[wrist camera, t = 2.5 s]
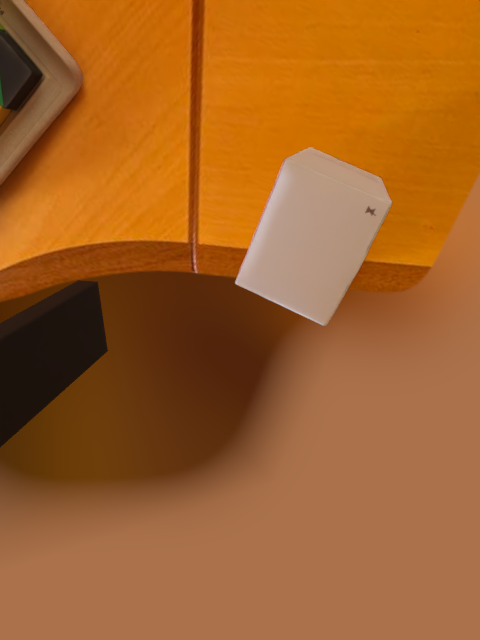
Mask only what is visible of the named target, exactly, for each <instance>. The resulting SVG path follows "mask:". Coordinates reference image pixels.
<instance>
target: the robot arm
mask: <svg viewBox="0 0 480 640" xmlns="http://www.w3.org/2000/svg"><path fill="white" fill-rule="evenodd" d="M107 351H108V350H107V344H106V336H105V331H104V323H103V316H102V309H101V302H100V296H99V288H98V282H93V281H77V282H75V283H73V284H71V285H69V286H67V287H66V288H64V289H62V290H60V291H58V292H57V293H55V294H53V295H51V296H49V297H47V298H46V299H44V300H42V301H40V302H38V303H36V304H35V305H33V306H31V307H29V308H27V309H25V310H24V311H22V312H20V313H18V314H16V315H15V316H13V317H11V318H9V319H7V320H5V321H4V322H2V323H0V447H1V446H2V445H3V444H4V443H6V442H7V441H8V440H9V439H10V438H11V437H12V436H13V435H14V434H16V433H17V432H18V431H19V430H20V429H21V428H22V427H23V426H24V425H26V424H27V423H28V422H29V421H30V420H31V419H32V418H33V417H34V416H36V415H37V414H38V413H39V412H40V411H41V410H42V409H43V408H45V407H46V406H47V405H48V404H49V403H50V402H51V401H52V400H54V399H55V398H56V397H57V396H58V395H59V394H60V393H61V392H62V391H64V390H65V388H67V387H68V386H69V385H70V384H71V383H72V382H74V381H75V380H76V379H77V378H78V377H79V376H80V375H81V374H83V372H85V371H86V370H87V369H88V368H89V367H90V366H91V365H92V364H94V363H95V362H96V361H97V360H98V359H99V358H100V357H101V356H102V355H104V354H105V353H106V352H107Z"/></svg>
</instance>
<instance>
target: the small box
mask: <svg viewBox="0 0 480 640" xmlns="http://www.w3.org/2000/svg"><path fill="white" fill-rule="evenodd" d="M391 205H392V201H391V199H390V197H389V195H388V192H387V190H386V188H385V185H384V183H383V181H382V178H380V177H378V176H376V175H373V174H371V173H369V172H366V171H364V170H362V169H360V168H357V167H355V166H353V165H350V164H348V163H346V162H343V161H341V160H339V159H337V158H334V157H332V156H330V155H328V154H325V153H323V152H321V151H319V150H316V149H314V148H312V147H309V148H307V149H304V150H302V151H300V152H298V153H296V154H294V155H292V156H290V157H288V158H285V159H284V161H283V164H282V166H281V168H280V171H279V173H278V176H277V178H276V181H275V183H274V186H273V188H272V191H271V193H270V196H269V198H268V200H267V203H266V206H265V208H264V211H263V213H262V216H261V218H260V221H259V223H258V226H257V228H256V231H255V233H254V236H253V238H252V241H251V243H250V246H249V248H248V251H247V253H246V256H245V258H244V261H243V263H242V266H241V268H240V271H239V273H238V276H237V279H236V281H235V284H237V285H239V286H241V287H243V288H245V289H248V290H249V291H252V292H254V293H256V294H258V295H260V296H262V297H264V298H266V299H268V300H270V301H273V302H275V303H277V304H279V305H281V306H283V307H285V308H287V309H289V310H291V311H294V312H296V313H298V314H300V315H302V316H304V317H306V318H308V319H310V320H313V321H314V322H317V323H319V324H321V325H323V326H326V325H327V324H328V323H329V321H330V319H331V318H332V316H333V314H334V312H335V311H336V309H337V307H338V305H339V303H340V302H341V300H342V298H343V296H344V294H345V293H346V291H347V289H348V287H349V286H350V284H351V282H352V280H353V279H354V277H355V275H356V274H357V272H358V270H359V268H360V266H361V265H362V263H363V261H364V259H365V257H366V255H367V253H368V250H369V248H370V246H371V244H372V242H373V240H374V238H375V236H376V234H377V233H378V231H379V229H380V227H381V225H382V223H383V221H384V219H385V217H386V215H387V213H388V211H389V209H390V208H391Z"/></svg>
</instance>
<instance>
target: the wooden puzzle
mask: <svg viewBox="0 0 480 640" xmlns="http://www.w3.org/2000/svg"><path fill="white" fill-rule="evenodd" d="M82 82H83V76H82V72H81V69H80V67H79V66H78V64H77V62H76V61H75V60H74V59H73V58H72V56H71V55H70V54H69V53H68V51H67V50H66V49H65V48H64V47H63V46H62V44H61V43H60V42H59V41H58V40H57V38H56V37H55V36H54V35H53V34H52V32H51V31H50V30H49V29H48V28H47V27H46V25H45V24H44V23H43V22H42V21H41V19H40V18H39V17H38V16H37V15H36V14H35V12H34V11H33V10H32V9H31V8H30V6H29V5H28V4H27V3H26V2H25V1H24V0H0V186H1V184H2V183H3V182H4V181H5V180H6V178H7V177H8V176H9V175H10V173H11V172H12V171H13V170H14V169H15V167H16V166H17V165H18V164H19V162H20V161H21V160H22V159H23V158H24V156H25V155H26V154H27V153H28V152H29V150H30V149H31V148H32V147H33V145H34V144H35V143H36V142H37V141H38V139H39V138H40V137H41V136H42V135H43V133H44V132H45V131H46V130H47V129H48V127H49V126H50V125H51V124H52V123H53V121H54V120H55V119H56V118H57V117H58V115H59V114H60V113H61V112H62V111H63V109H64V108H65V107H66V106H67V105H68V103H69V102H70V101H71V100H72V99H73V97H74V96H75V95H76V93H77V92H78V91H79V89H80V88H81V85H82Z"/></svg>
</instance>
